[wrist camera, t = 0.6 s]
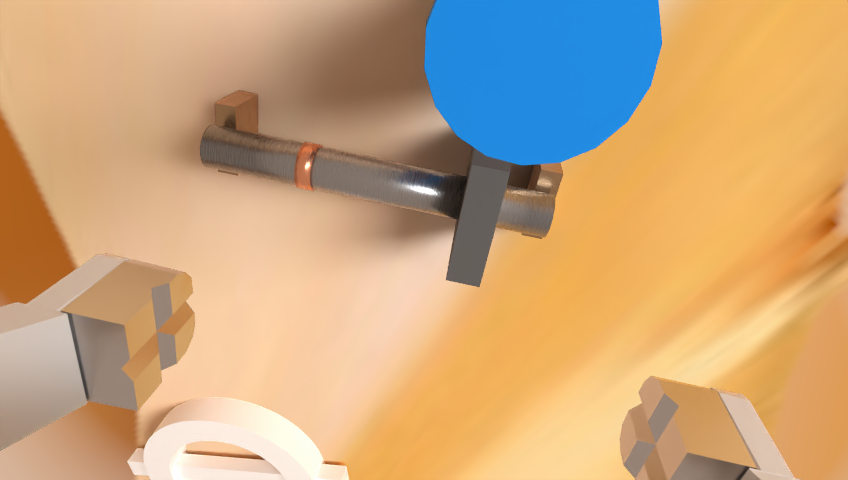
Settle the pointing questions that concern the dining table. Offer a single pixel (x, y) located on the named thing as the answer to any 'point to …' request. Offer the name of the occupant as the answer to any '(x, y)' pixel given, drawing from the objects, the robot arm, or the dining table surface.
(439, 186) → the pipe rig
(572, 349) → the dining table surface
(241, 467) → the ring with crossbar
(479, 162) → the collar
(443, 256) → the dining table surface
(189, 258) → the dining table surface
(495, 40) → the thermos
